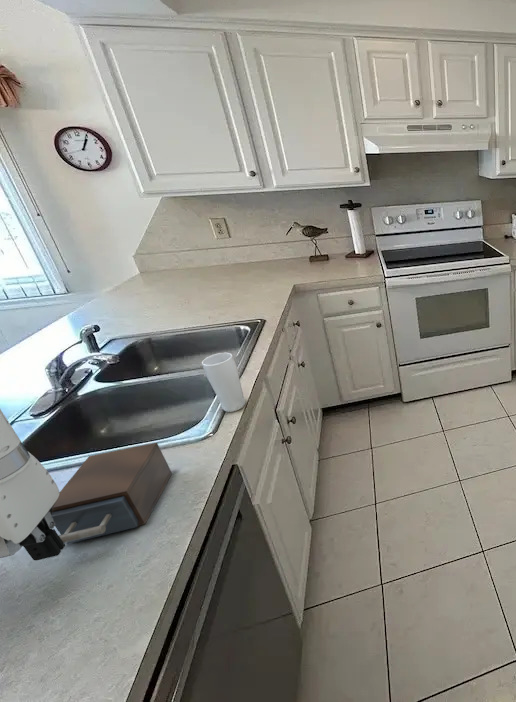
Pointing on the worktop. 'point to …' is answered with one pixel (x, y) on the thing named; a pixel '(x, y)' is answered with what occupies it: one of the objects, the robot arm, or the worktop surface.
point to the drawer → (94, 519)
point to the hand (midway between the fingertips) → (50, 553)
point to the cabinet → (119, 480)
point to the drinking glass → (224, 380)
